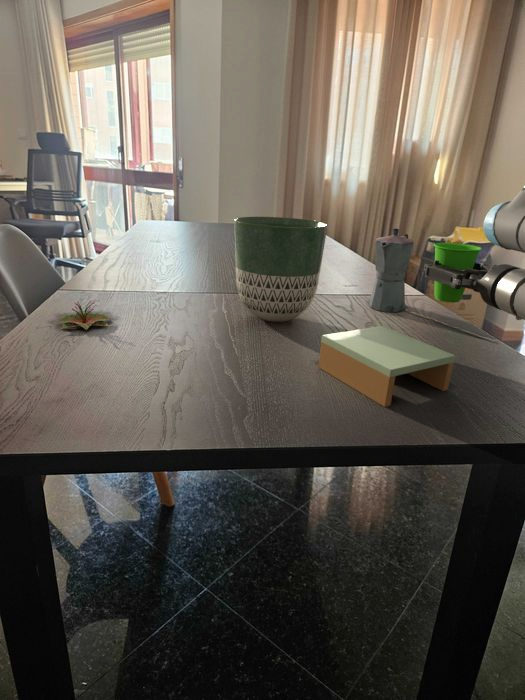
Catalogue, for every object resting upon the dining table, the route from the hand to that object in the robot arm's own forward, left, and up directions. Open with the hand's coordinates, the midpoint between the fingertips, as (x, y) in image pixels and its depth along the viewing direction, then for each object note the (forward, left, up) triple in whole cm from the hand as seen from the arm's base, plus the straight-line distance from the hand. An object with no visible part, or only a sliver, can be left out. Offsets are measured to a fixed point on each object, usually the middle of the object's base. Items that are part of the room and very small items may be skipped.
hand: (440, 264), depth 100 cm
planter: (+20, +28, -15) cm, 38 cm away
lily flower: (+31, +67, -15) cm, 76 cm away
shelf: (-15, +29, -15) cm, 36 cm away
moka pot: (+18, -5, -15) cm, 24 cm away
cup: (-4, +2, -7) cm, 8 cm away
